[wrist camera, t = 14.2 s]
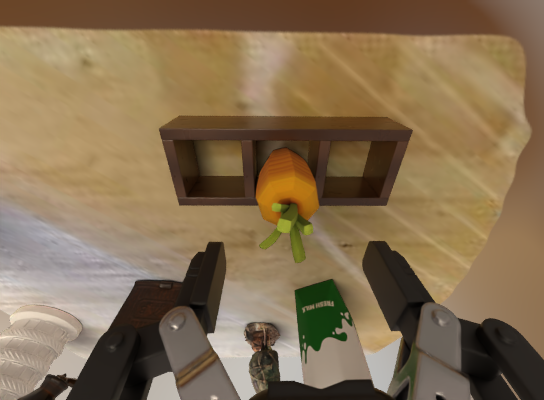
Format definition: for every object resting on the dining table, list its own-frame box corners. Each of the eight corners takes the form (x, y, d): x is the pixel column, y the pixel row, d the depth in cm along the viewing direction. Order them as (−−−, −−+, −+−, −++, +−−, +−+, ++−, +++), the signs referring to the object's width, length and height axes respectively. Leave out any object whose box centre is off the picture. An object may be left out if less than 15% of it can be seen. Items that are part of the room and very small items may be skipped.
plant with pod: (290, 319, 44) (303, 478, 27) (272, 345, 50) (273, 490, 33) (252, 312, 43) (240, 476, 26) (237, 340, 49) (221, 488, 32)
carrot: (298, 174, 27) (323, 277, 14) (257, 169, 26) (246, 270, 14) (307, 134, 24) (349, 216, 12) (263, 127, 24) (255, 205, 11)
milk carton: (305, 313, 43) (329, 476, 26) (287, 288, 39) (301, 463, 22) (349, 302, 41) (404, 469, 24) (335, 273, 37) (391, 454, 20)
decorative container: (46, 339, 47) (-58, 470, 32) (0, 309, 41) (-155, 453, 26) (94, 332, 46) (9, 465, 31) (54, 301, 40) (-76, 447, 25)
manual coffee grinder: (199, 281, 38) (151, 431, 22) (200, 316, 43) (163, 454, 28) (103, 273, 36) (-17, 427, 21) (118, 310, 42) (32, 452, 27)
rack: (178, 115, 23) (158, 128, 19) (387, 117, 23) (413, 129, 19) (192, 183, 27) (179, 205, 23) (368, 183, 28) (386, 206, 23)
